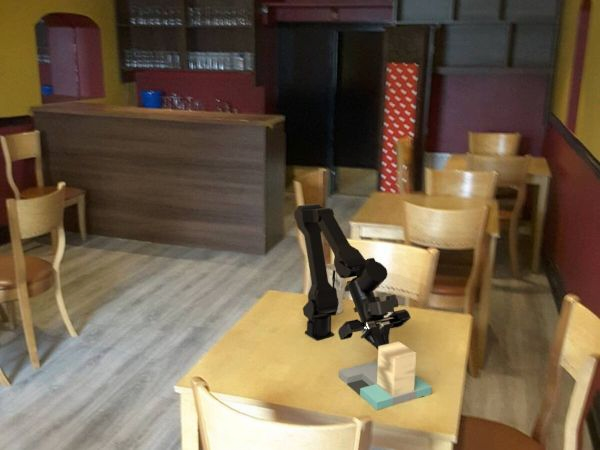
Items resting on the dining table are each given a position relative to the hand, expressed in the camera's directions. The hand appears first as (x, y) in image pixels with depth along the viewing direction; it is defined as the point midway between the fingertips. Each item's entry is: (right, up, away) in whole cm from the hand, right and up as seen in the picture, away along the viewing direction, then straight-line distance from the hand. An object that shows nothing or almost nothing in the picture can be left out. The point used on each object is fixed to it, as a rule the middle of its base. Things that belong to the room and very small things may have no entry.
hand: (387, 355), depth 154 cm
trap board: (-1, -8, +3) cm, 9 cm away
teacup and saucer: (+7, 0, +37) cm, 38 cm away
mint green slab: (+2, -9, -1) cm, 10 cm away
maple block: (+2, -7, -2) cm, 8 cm away
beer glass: (-10, +4, +50) cm, 51 cm away
